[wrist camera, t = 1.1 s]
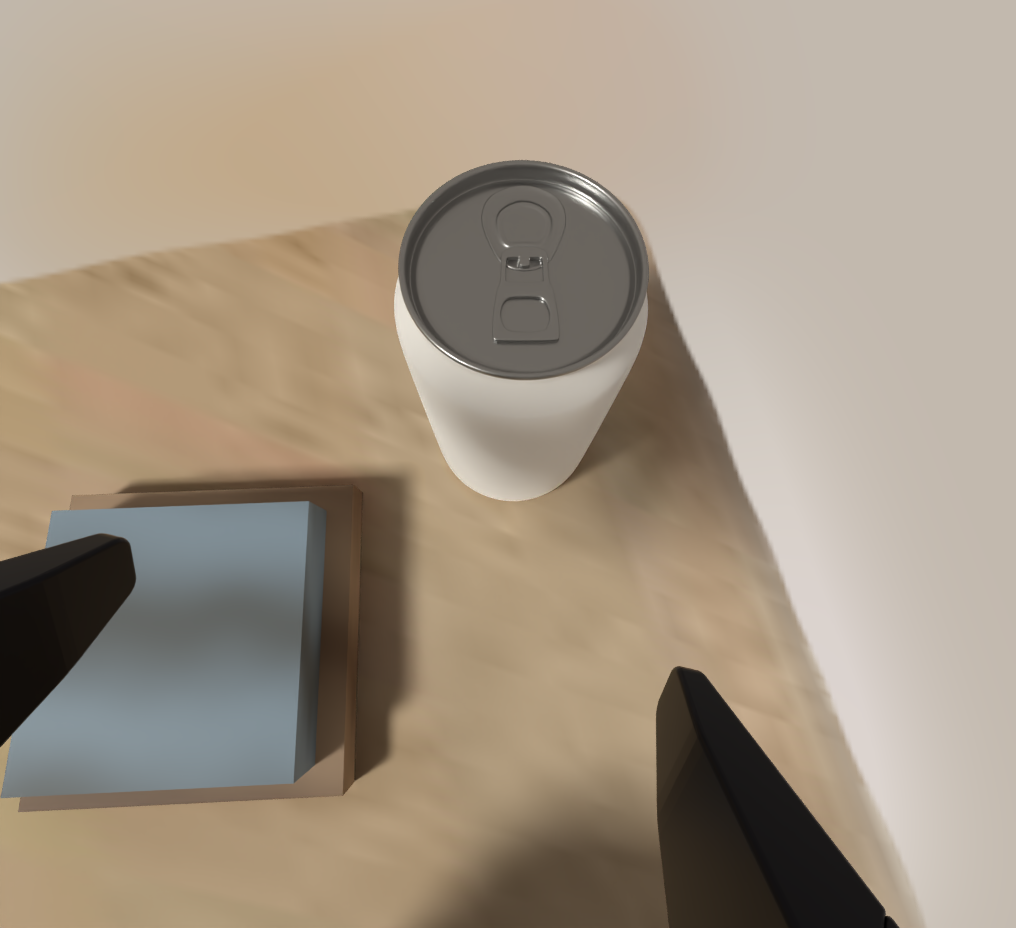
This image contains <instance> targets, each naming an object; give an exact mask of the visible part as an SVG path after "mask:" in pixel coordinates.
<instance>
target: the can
mask: <svg viewBox="0 0 1016 928" xmlns="http://www.w3.org/2000/svg"><path fill="white" fill-rule="evenodd" d="M398 275H399V276H398V280H397V284H396V290H395V299H394V312H395V321H396V328H397V333H398V337H399V340H400V344H401V347H402V350H403V353H404V356H405V359H406V361H407V364H408V367H409V370H410V372H411V375H412V378H413V380H414V383H415V385H416V388H417V391H418V393H419V396H420V398H421V401H422V404H423V406H424V409H425V411H426V414H427V416H428V419H429V422H430V424H431V427H432V429H433V432H434V434H435V437H436V439H437V442H438V444H439V447H440V449H441V451H442V454H443V456H444V458H445V460H446V462H447V464H448V465H449V467H450V468H451V470H452V471H453V472H454V474H455V475H456V476H457V477H458V478H459V479H460V480H461V481H462V482H463V483H464V484H466V485H467V486H468V487H470V488H471V489H473V490H474V491H476V492H478V493H480V494H482V495H484V496H487V497H490V498H493V499H498V500H504V501H523V500H529V499H533V498H537V497H540V496H542V495H545V494H547V493H549V492H551V491H552V490H554V489H555V488H557V487H558V486H560V485H561V484H562V483H563V482H564V481H565V480H566V479H567V478H568V477H569V476H570V475H571V474H572V473H573V472H574V470H575V469H576V467H577V466H578V464H579V463H580V461H581V459H582V458H583V456H584V454H585V453H586V451H587V449H588V447H589V445H590V444H591V442H592V440H593V438H594V437H595V435H596V433H597V431H598V429H599V428H600V426H601V424H602V422H603V420H604V418H605V417H606V415H607V413H608V411H609V409H610V407H611V406H612V404H613V402H614V400H615V398H616V396H617V395H618V393H619V391H620V389H621V387H622V385H623V383H624V382H625V380H626V378H627V376H628V374H629V372H630V370H631V368H632V366H633V364H634V362H635V360H636V357H637V355H638V353H639V350H640V348H641V345H642V342H643V338H644V335H645V330H646V325H647V318H648V299H647V287H648V278H649V265H648V256H647V251H646V247H645V243H644V240H643V237H642V235H641V232H640V230H639V228H638V226H637V224H636V222H635V221H634V219H633V217H632V216H631V214H630V213H629V212H628V210H627V209H626V208H625V206H624V205H623V204H622V203H621V202H620V201H619V200H618V199H617V198H616V197H615V196H614V195H613V194H612V193H611V192H610V191H608V190H607V189H606V188H605V187H603V186H602V185H600V184H599V183H598V182H596V181H594V180H593V179H591V178H589V177H587V176H585V175H584V174H581V173H579V172H577V171H574V170H572V169H569V168H566V167H563V166H559V165H556V164H552V163H547V162H540V161H529V160H515V161H503V162H497V163H492V164H487V165H484V166H480V167H477V168H474V169H472V170H469V171H467V172H464V173H462V174H460V175H458V176H456V177H455V178H453V179H451V180H450V181H448V182H446V183H445V184H444V185H442V186H441V187H440V188H438V189H437V190H436V191H435V192H434V193H432V194H431V195H430V196H429V197H428V198H427V199H426V200H425V201H424V203H423V204H422V205H421V206H420V208H419V209H418V210H417V212H416V213H415V215H414V216H413V218H412V220H411V221H410V223H409V225H408V227H407V229H406V232H405V234H404V237H403V240H402V244H401V248H400V253H399V263H398Z"/></svg>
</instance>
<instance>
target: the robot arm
mask: <svg viewBox="0 0 1016 928" xmlns="http://www.w3.org/2000/svg"><path fill="white" fill-rule="evenodd" d="M135 583H136V572H135V566H134V561H133V555H132V549H131V545H130V543H129V542H128V540H127V539H125V538H123V537H119V536H114V535H110V534H104V533H98V534H94V535H91V536H87V537H84V538H80V539H77V540H73V541H70V542H66V543H63V544H59V545H56V546H52V547H49V548H45V549H42V550H38V551H35V552H31V553H28V554H24V555H21V556H18V557H14V558H11V559H7V560H4V561H0V747H1V746H2V745H3V744H4V743H5V742H6V741H7V740H8V738H9V737H10V736H11V735H12V734H13V733H14V732H15V731H16V730H17V729H18V728H19V727H20V726H21V724H22V723H23V722H24V721H25V720H26V719H27V718H28V717H29V716H30V715H31V714H32V713H33V712H34V710H35V709H36V708H37V707H38V706H39V705H40V704H41V703H42V702H43V701H44V700H45V699H46V697H47V696H48V695H49V694H50V693H51V692H52V691H53V690H54V689H55V688H56V687H57V686H58V684H59V683H60V682H61V681H62V680H63V679H64V678H65V677H66V675H67V674H68V673H69V672H70V671H71V669H72V668H73V667H74V666H75V664H76V663H77V662H78V661H79V660H80V658H81V657H82V656H83V654H84V653H85V652H86V651H87V649H88V648H89V647H90V645H91V644H92V643H93V642H94V640H95V639H96V638H97V636H98V635H99V634H100V633H101V631H102V630H103V629H104V627H105V626H106V625H107V623H108V622H109V621H110V620H111V618H112V617H113V616H114V614H115V613H116V612H117V611H118V609H119V608H120V607H121V605H122V604H123V603H124V602H125V600H126V599H127V598H128V596H129V595H130V594H131V592H132V590H133V589H134V586H135ZM656 766H657V820H658V832H659V841H660V850H661V859H662V868H663V876H664V885H665V894H666V903H667V912H668V920H669V928H899V927H898V925H897V924H896V923H895V921H894V920H893V919H892V918H891V917H890V916H885V915H886V912H885V909H884V907H883V906H882V905H881V903H880V902H879V901H878V900H877V898H876V897H875V896H874V894H873V893H872V892H871V890H870V889H869V888H868V887H867V885H866V884H865V883H864V881H863V880H862V879H861V877H860V876H859V875H858V874H857V872H856V871H855V870H854V868H853V867H852V866H851V864H850V863H849V862H848V861H847V859H846V858H845V857H844V855H843V854H842V853H841V851H840V850H839V849H838V848H837V846H836V845H835V844H834V842H833V841H832V840H831V838H830V837H829V836H828V835H827V833H826V832H825V831H824V829H823V828H822V827H821V825H820V824H819V823H818V822H817V820H816V819H815V818H814V816H813V815H812V814H811V812H810V811H809V810H808V809H807V807H806V806H805V805H804V803H803V802H802V801H801V799H800V798H799V797H798V796H797V794H796V793H795V792H794V790H793V789H792V788H791V786H790V785H789V784H788V783H787V781H786V780H785V779H784V777H783V776H782V775H781V773H780V772H779V771H778V770H777V768H776V767H775V766H774V764H773V763H772V762H771V760H770V759H769V758H768V757H767V755H766V754H765V753H764V751H763V750H762V749H761V747H760V746H759V745H758V744H757V742H756V741H755V740H754V738H753V737H752V736H751V734H750V733H749V732H748V731H747V729H746V728H745V727H744V725H743V724H742V723H741V721H740V720H739V719H738V718H737V716H736V715H735V714H734V712H733V711H732V710H731V708H730V707H729V706H728V705H727V703H726V702H725V701H724V699H723V698H722V697H721V695H720V694H719V693H718V692H717V690H716V689H715V688H714V686H713V685H712V684H711V682H710V681H709V680H708V679H707V677H706V676H705V675H704V674H703V673H702V672H700V671H698V670H694V669H689V668H685V667H681V666H677V667H675V668H674V669H673V670H672V671H671V673H670V676H669V678H668V680H667V683H666V685H665V687H664V690H663V692H662V694H661V696H660V699H659V701H658V705H657V711H656Z"/></svg>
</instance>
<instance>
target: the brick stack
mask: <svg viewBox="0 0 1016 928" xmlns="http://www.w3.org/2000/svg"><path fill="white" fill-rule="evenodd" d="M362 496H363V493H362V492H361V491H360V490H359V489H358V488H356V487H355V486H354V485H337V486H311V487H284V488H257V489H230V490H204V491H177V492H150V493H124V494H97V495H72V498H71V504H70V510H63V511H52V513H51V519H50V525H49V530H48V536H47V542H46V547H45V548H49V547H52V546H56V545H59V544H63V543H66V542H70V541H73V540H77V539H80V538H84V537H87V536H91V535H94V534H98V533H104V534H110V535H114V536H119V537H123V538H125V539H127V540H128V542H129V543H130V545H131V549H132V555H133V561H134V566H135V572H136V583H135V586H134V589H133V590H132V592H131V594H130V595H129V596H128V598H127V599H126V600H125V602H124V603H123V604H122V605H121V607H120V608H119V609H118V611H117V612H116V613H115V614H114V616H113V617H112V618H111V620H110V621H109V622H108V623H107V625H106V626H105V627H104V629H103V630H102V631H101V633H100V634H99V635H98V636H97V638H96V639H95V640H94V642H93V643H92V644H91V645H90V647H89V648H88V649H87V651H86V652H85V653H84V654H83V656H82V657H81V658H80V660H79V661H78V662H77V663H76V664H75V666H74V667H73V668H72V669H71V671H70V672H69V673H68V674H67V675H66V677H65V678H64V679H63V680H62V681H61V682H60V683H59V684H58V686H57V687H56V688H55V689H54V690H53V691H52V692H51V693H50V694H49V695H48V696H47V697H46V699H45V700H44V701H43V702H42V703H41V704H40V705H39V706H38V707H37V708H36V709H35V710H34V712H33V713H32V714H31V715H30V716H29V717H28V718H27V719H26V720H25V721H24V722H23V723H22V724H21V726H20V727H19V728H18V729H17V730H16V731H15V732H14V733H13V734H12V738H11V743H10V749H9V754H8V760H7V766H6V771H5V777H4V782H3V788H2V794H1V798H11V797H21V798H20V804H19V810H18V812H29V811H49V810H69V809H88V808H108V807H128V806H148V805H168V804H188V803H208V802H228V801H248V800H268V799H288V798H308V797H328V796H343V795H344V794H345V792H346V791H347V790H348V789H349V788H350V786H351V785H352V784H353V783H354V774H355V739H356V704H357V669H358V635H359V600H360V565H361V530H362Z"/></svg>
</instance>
